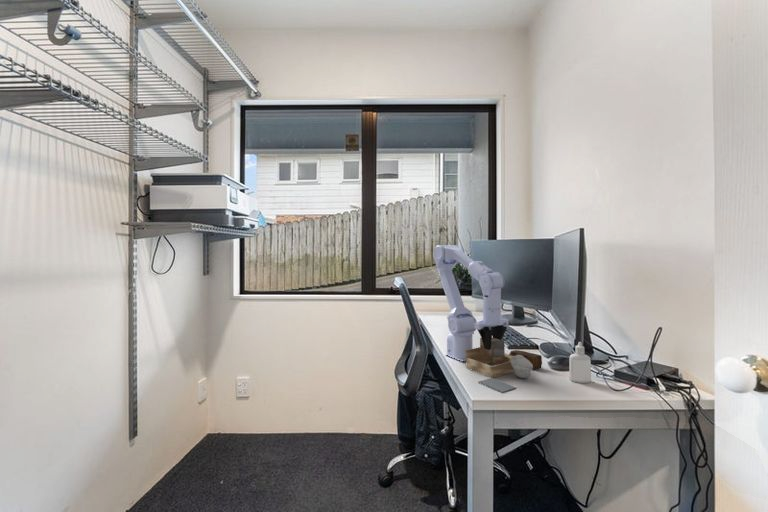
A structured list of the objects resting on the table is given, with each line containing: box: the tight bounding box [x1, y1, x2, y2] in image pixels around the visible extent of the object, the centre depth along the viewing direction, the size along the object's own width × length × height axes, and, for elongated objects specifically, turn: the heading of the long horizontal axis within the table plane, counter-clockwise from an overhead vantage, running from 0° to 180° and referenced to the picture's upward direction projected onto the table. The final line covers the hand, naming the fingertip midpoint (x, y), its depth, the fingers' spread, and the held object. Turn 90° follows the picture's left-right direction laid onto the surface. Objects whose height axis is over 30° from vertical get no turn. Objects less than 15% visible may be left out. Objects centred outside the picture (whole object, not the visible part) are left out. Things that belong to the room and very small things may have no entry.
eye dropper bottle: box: [568, 341, 592, 384], centre depth 104 cm, size 4×6×12 cm
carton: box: [465, 346, 515, 378], centre depth 116 cm, size 11×16×6 cm
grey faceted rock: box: [510, 355, 533, 379], centre depth 107 cm, size 6×7×7 cm
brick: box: [509, 349, 543, 371], centre depth 119 cm, size 11×4×5 cm, turn 35°
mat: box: [478, 377, 517, 394], centre depth 101 cm, size 9×6×1 cm, turn 31°
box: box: [479, 337, 506, 358], centre depth 115 cm, size 7×4×5 cm, turn 31°
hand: (491, 348), depth 115 cm, fingers closed on box, 4 cm apart
